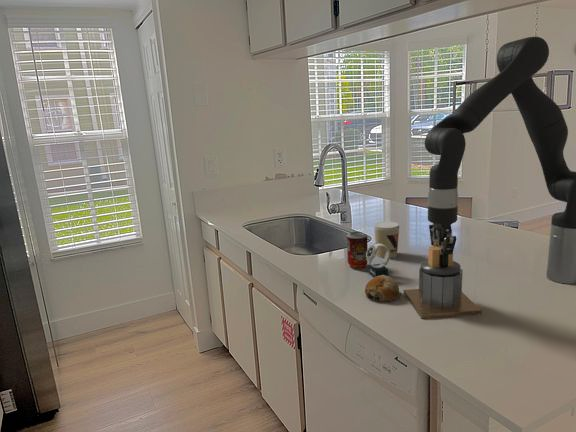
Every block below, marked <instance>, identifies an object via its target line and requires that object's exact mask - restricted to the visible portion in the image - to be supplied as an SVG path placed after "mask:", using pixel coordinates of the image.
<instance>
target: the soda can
mask: <svg viewBox="0 0 576 432" xmlns="http://www.w3.org/2000/svg"><path fill="white" fill-rule="evenodd" d="M346 236H347V237H346V240H347V241H346V246H347V249H346V250H347V264H348V265H349V268H351V269H354V270H362V269H365V268H367V267H366V266H367V264H368V262H367V259H366V252H367V250H368V235H367V233H365V232H363V231H352V232H349V233H348V234H347V235H346Z"/></svg>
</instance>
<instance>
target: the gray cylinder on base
mask: <svg viewBox="0 0 576 432" xmlns="http://www.w3.org/2000/svg"><path fill="white" fill-rule="evenodd" d="M418 271H419V274H418V276H419V277H418V288H409V289H403V291H402V292H403V295H404V297H405V298H406V299H407V301H408V303H410V305H411V306H412V308H413V309H414V311H416V313H417V315H418V316H419V317H420V319H421V320H422V319H434V318H435V319H436V318H446V317H447V318H449V317H465V316H466V317H467V316H477V315H479V314H480V315H482V309H481V308H479V307H478V306H477V304H476V303H474V302H473V301H472V300H471V299H470V298H469V297H468V296H467V295H466V294H465V293H464V292H463V269H462V268H461V267H460V272H459V273H457V274H454V275H445V276H444V275H433V274H429V273H426V272H424V271H423V270H421V266H420V267H419V270H418Z"/></svg>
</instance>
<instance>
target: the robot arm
mask: <svg viewBox="0 0 576 432" xmlns="http://www.w3.org/2000/svg"><path fill="white" fill-rule="evenodd" d="M549 55H550V47H549V45H548V43H547V41H546V40H545V39H544V38H543V37H540V36H529V37H524V38H521V39H517V40H514V41H509V42H507V43H504V44H503V45H502V46H501V47H499V49H498V51H497V53H496V65H497V70H498V72H499V73H498V74H497V75H496V76H494V77H493V78H491V79H490V80H489V81H487V82H485V83H483V84H482V85H480V86H479V87H478V88H477V89H476V90H474V91H473V92H472V93H470V94H469V95H467V97H466V98H465V99H464V100H463V102H462V103H461V104H460V105H458V107H457V108H456V109H455V110H454V111H453V112H452V113H451V114H449V115H447V116H446V117H444V118H443V119H442V120H441V121H439V122H438V123H436V124H435V125H434V126H433V127H432V128H430V130H429V131H428V132H427V134H426V136H425V139H424V147H425V150H426V151H427V152H428V153H430V154H431V155H434V156H435V155H436V156H440V158H439V161H438V163H437V164H435V165H432V166H431V167H430V170H429V177H428V178H429V182H428V184H429V187H428V194H427V196H428V197H427V221H428V222H429V223H432V224H429V225H428V231H429V237H430V245H431V247H434V246H439V253H440V256H439V266H440V267H441V268H445V267H448V255H449V254H453V255H454V250H455V247H456V246H455V245H456V242H457V236H456V235H453V229H452V224H455V223H457V221H458V209H459V205H458V204H459V191H458V186H459V185H458V181H459V179H458V178H459V176H458V175H459V171H460V170H459V169H460V168H461V164H462V161H463V157H464V155H465V149H466V146H467V145H466V142H467V141H466V137H465V134H468V133H471V132H473V131H474V130H476V129H477V127H478V126H480V124H481V123H482V122H484V120H485V119H486V118H487V117H488V116H489V115H490V114H491V113H492V111H493V110H495V108H496V107H497V106H498V105H500V103H502V102H503V101H504V100H505V99H507V97H508V96H509V95H512V97H513V100H514V101H515V104H516V106H517V109H518V111H519V113H520V115H521V118H522V120H523V123H524V125H525V128H526V131H527V133H528V136H529V138H530V141H531V143H532V145H533V147H534V150H535V153H536V155H537V158H538V160H539V164H540V166H541V170H542V173H543V177H544V181H545V186H546V188H547V190H548V191H547V192H548V194H549V195H550V196H551V197H552V198H553V199H555V200H556V201H560V202H564V203H566V205H565V209H564V211H562V212H561V211H560V212H555V213H553V214H552V216H551V222H550V223H551V224H550V233H549V242H548V243H549V245H548V252H547V265H546V278H547V279H549V280H550V281H553V282H557V283H560V284H567V285H568V284H569V285H571V284H572V285H573V284H576V171H572V170H571V169H570V168H569V167H568V165H567V162H566V160H565V156H564V150H565V148H566V147H565V146H566V143H567V141H568V136H569V129H568V128H569V127H568V125H567V122H566V119H565V116H564V114H563V112H562V111H563V110H561V108H560V106H559V105H558V104H557V103H556V102H555V101H554V100H553V99H552V98H550V97H549V95H547V94H546V93H545V92H544V91H542V90H541V89H540V87H538V85H537V84H536V83H535V81H534V79H533V76H534V75H536V74H537V73H538V72H539V71H540V70H541V69H543V67H544V66H545V65H546V64H547V62H548V60H549Z"/></svg>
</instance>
